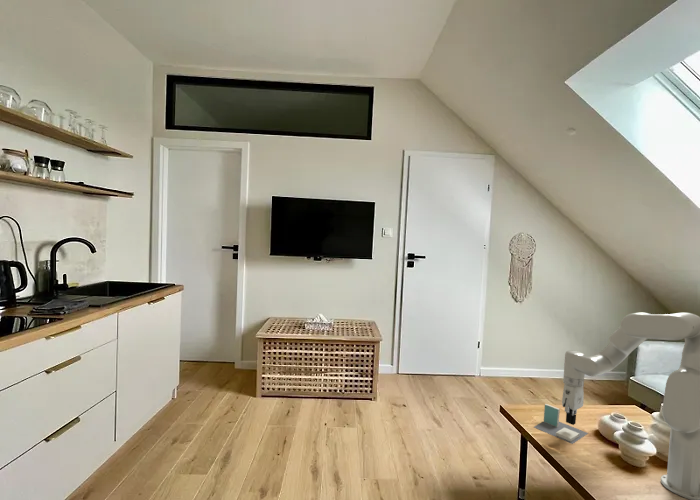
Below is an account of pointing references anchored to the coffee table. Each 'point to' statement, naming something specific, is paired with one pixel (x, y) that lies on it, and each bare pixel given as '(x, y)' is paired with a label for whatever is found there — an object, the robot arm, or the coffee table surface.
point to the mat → (552, 429)
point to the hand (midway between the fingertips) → (570, 423)
